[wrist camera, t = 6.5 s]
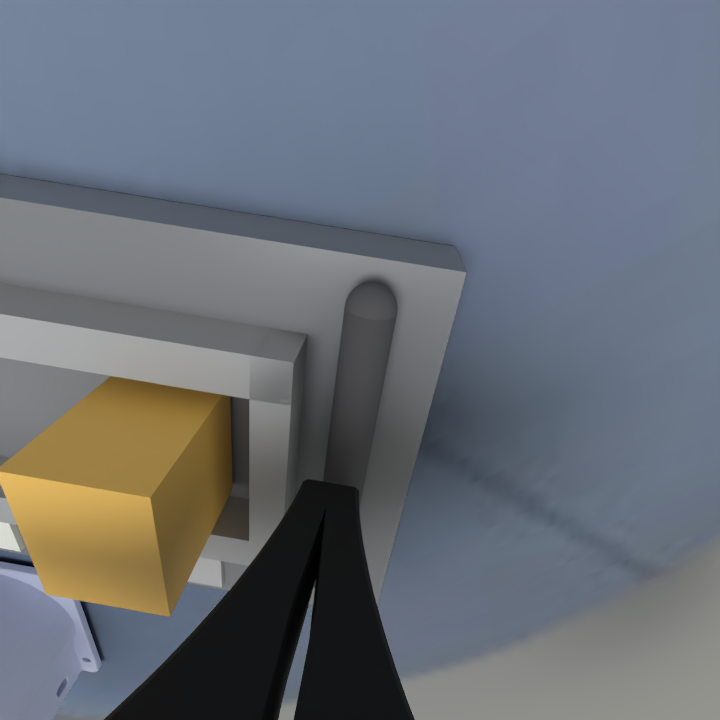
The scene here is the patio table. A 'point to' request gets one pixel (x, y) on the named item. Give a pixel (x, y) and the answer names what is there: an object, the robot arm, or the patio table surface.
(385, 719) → the robot arm
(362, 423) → the rod
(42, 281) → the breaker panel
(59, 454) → the block
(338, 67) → the patio table surface
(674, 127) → the patio table surface
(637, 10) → the patio table surface
